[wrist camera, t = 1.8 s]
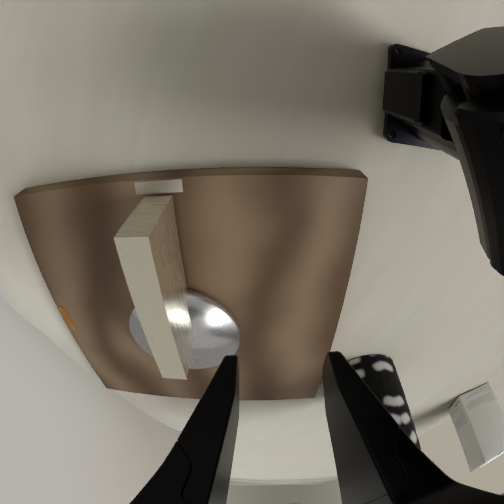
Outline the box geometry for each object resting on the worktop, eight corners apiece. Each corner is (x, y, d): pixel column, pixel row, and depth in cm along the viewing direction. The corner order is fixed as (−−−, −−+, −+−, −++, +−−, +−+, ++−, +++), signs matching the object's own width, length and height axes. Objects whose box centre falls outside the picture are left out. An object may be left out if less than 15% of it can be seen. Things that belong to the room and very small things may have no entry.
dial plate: (359, 170, 18) (368, 178, 16) (313, 386, 31) (315, 398, 30) (24, 188, 18) (13, 197, 16) (109, 378, 31) (106, 388, 30)
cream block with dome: (241, 363, 25) (240, 408, 21) (147, 358, 25) (136, 400, 21) (233, 193, 17) (227, 235, 13) (94, 200, 17) (56, 239, 13)
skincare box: (447, 409, 41) (467, 474, 28) (458, 394, 38) (483, 464, 25) (478, 396, 41) (500, 455, 28) (491, 379, 37) (517, 443, 24)
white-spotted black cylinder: (389, 344, 27) (440, 521, 11) (396, 377, 31) (433, 518, 15) (316, 371, 30) (340, 549, 13) (336, 399, 34) (357, 540, 17)
